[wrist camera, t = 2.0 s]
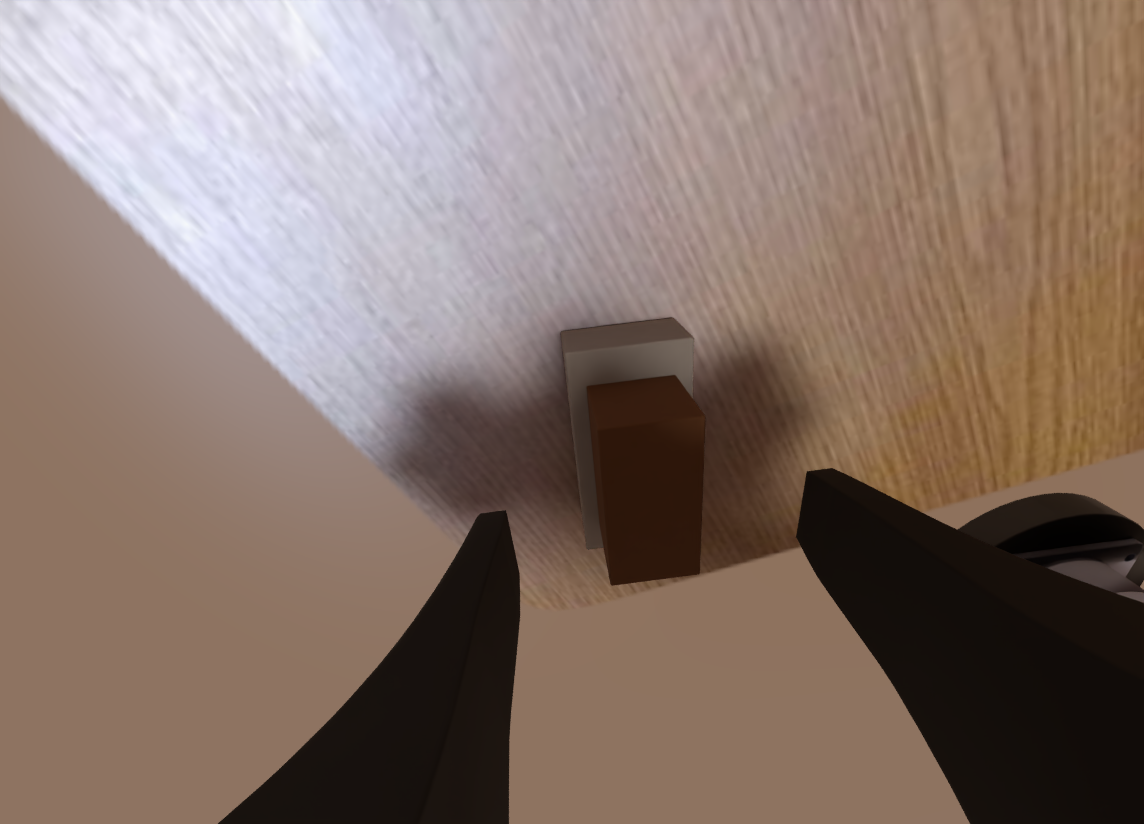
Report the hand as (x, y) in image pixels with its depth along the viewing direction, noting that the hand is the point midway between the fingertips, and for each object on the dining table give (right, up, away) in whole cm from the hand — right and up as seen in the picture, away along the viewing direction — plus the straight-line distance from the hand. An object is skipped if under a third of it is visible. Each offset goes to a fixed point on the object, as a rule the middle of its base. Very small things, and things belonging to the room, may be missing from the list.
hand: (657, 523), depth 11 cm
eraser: (0, +2, +4) cm, 5 cm away
